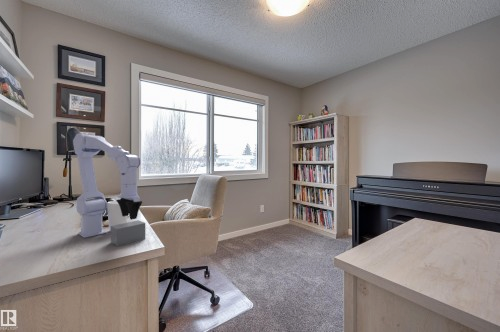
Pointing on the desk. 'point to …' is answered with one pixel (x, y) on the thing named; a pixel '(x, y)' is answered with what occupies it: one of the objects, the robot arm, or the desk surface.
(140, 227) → the grey rectangular brick
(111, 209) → the foam cup
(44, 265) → the desk surface
